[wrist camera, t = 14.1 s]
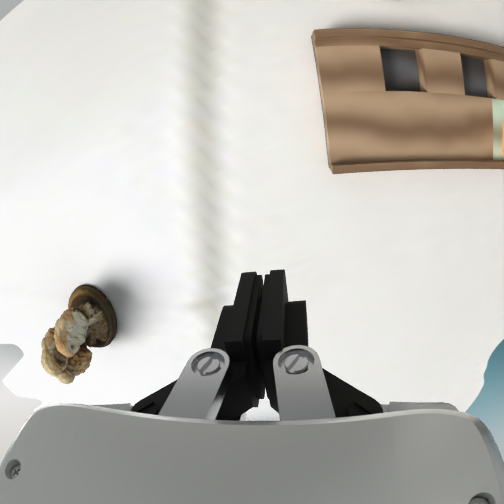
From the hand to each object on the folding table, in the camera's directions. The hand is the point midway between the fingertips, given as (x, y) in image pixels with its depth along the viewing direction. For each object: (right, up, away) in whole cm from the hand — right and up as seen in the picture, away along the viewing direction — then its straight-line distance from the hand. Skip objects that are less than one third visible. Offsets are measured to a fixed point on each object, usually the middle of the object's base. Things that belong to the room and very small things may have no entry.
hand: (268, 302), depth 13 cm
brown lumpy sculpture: (-34, -12, +47) cm, 59 cm away
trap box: (+25, +23, +21) cm, 40 cm away
